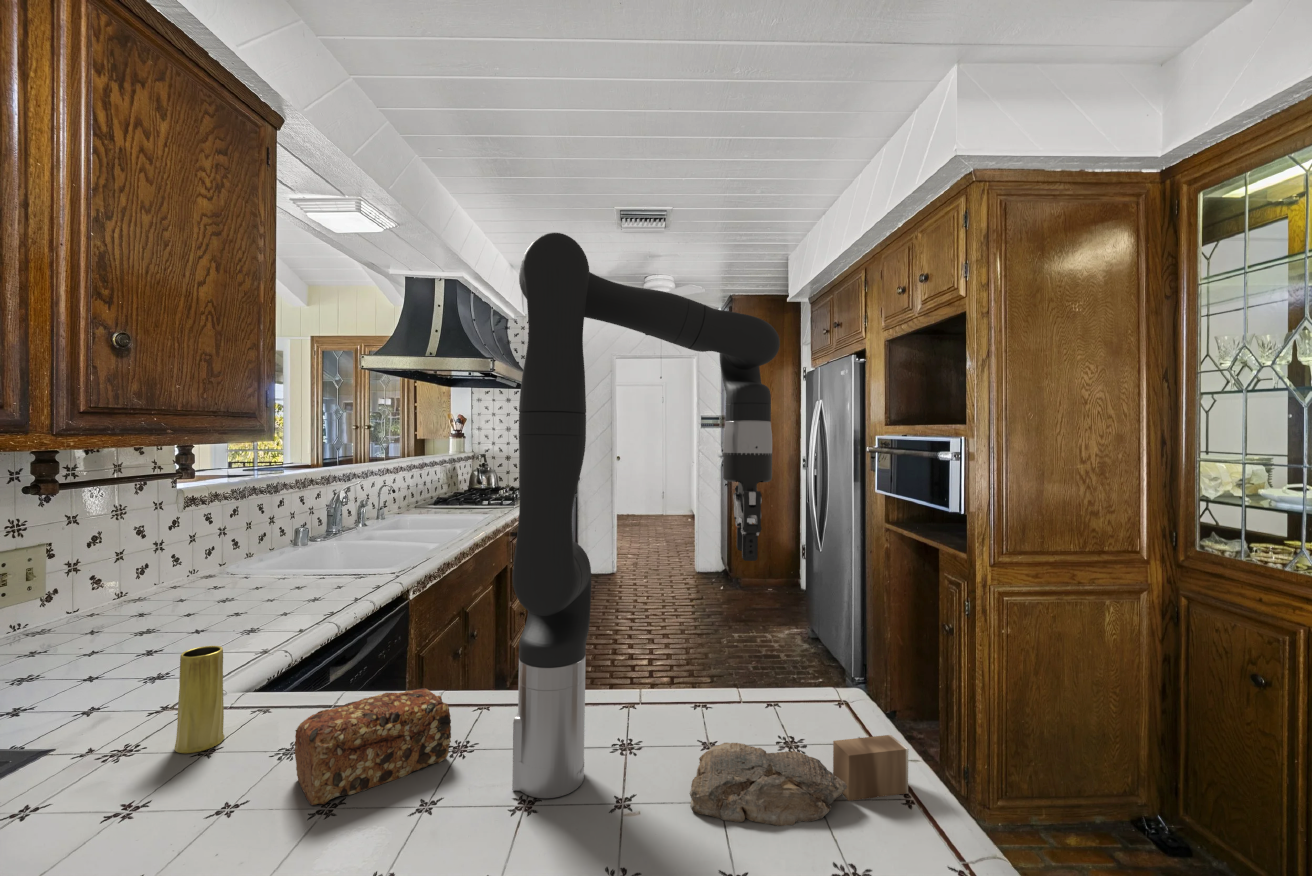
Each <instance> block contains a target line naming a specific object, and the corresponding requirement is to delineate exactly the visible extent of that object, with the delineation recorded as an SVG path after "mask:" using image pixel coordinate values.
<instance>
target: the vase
mask: <svg viewBox="0 0 1312 876" xmlns="http://www.w3.org/2000/svg"><path fill="white" fill-rule="evenodd" d="M179 658H180V659H179V660H180V662H179V678H178V679H179V689H178V702H177V703H178V704H177V706H178V707H177V722H176V724H177V727H176V736H175V737H176V738H175V744H174V751H175V752H176V753H177V754H178V753H179V754H186V755H187V754H195V753H201V752H205V751H207V750H209V749H210V750H211V749H212V748H214V746H215V747H216V746H218V745H220V744H221V743H222V742H223V741H224V739H225V734H224V720H225V719H224V717H225V716H224V715H225V714H224V713H225V712H224V711H225V710H224V708H225V707H224V649H223V647H222V646H221V645H205V646H199V647H194V648H190V649H188V650H187V649H186V650H185V651H183V652H182V653H181V654H180V657H179Z"/></svg>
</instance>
